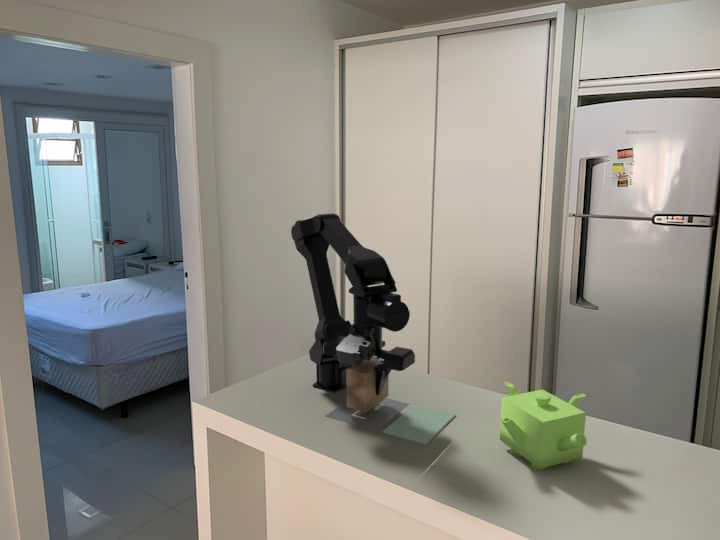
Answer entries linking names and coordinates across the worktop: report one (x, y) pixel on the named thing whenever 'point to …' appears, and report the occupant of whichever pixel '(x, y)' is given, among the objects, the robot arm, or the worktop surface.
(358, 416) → the plate
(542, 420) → the green knobbed block
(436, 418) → the green mat
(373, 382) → the walnut block
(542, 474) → the worktop surface
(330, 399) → the worktop surface
